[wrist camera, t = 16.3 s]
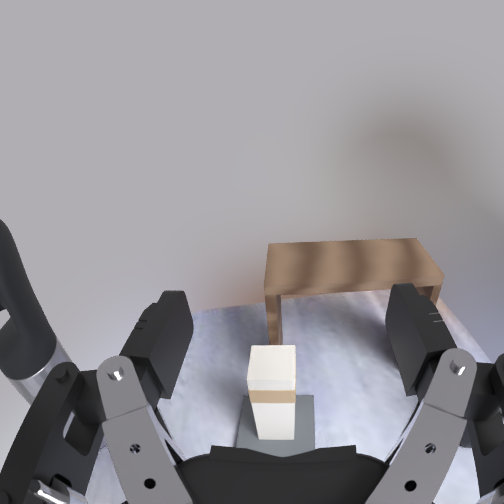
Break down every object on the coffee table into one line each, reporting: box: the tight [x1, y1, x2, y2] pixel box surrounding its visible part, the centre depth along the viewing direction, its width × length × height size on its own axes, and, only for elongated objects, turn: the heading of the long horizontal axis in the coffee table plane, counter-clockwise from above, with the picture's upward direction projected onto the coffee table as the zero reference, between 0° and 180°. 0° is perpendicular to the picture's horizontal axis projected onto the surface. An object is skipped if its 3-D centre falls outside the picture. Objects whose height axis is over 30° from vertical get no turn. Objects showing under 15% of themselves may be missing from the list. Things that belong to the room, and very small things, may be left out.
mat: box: [236, 395, 315, 457], centre depth 34 cm, size 10×10×1 cm
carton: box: [247, 345, 296, 440], centre depth 30 cm, size 5×5×14 cm
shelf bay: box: [264, 238, 444, 345], centre depth 40 cm, size 22×10×18 cm, turn 84°
